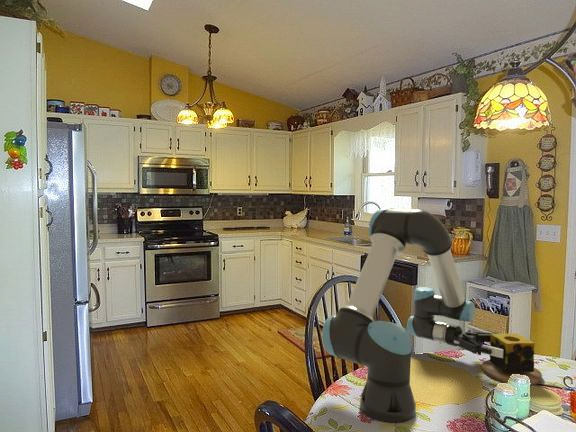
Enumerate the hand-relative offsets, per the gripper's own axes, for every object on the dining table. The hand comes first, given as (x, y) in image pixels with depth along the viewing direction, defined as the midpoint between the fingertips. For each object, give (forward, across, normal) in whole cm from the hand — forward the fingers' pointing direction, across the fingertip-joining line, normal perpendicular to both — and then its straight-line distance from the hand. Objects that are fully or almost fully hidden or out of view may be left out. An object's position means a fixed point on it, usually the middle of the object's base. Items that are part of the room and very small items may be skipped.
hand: (509, 348), depth 145 cm
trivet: (+1, 0, -8) cm, 9 cm away
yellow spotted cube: (+1, 0, -6) cm, 6 cm away
